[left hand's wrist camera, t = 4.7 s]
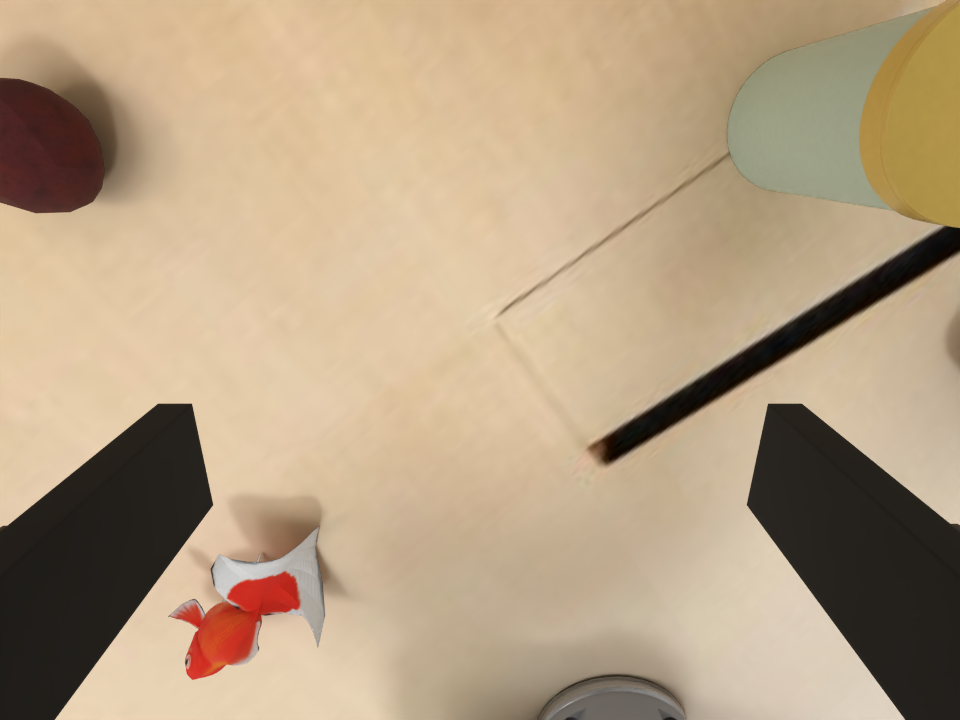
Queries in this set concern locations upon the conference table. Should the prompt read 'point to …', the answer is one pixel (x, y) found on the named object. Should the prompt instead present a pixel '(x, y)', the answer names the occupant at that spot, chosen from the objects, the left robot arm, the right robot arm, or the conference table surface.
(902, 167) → the lid
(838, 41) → the jar
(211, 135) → the conference table surface
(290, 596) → the fish
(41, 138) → the potato
